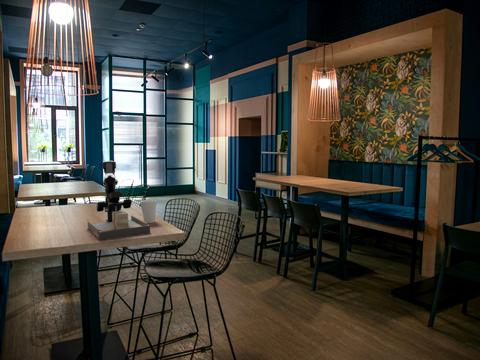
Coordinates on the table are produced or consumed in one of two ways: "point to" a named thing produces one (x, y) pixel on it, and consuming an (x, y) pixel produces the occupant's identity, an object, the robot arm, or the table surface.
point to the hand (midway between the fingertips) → (117, 217)
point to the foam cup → (148, 210)
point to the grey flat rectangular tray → (109, 232)
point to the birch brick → (120, 220)
